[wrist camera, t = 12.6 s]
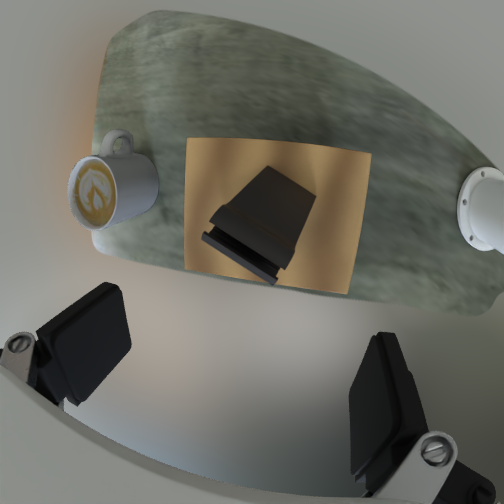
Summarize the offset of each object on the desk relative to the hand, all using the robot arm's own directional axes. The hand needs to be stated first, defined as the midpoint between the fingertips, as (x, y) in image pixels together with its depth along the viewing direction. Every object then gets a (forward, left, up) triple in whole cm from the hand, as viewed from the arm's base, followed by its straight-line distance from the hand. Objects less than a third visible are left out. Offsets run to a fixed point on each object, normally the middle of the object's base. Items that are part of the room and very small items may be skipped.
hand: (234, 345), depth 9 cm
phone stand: (+2, 0, -22) cm, 22 cm away
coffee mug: (+24, -3, -28) cm, 37 cm away
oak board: (+2, 0, -22) cm, 22 cm away
